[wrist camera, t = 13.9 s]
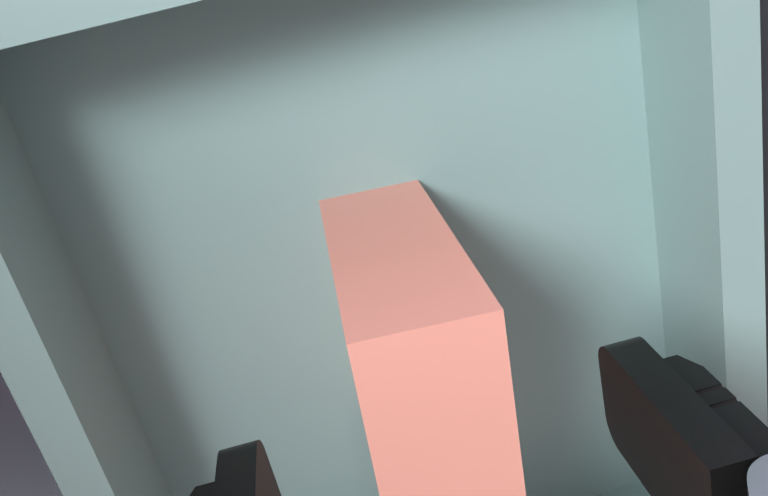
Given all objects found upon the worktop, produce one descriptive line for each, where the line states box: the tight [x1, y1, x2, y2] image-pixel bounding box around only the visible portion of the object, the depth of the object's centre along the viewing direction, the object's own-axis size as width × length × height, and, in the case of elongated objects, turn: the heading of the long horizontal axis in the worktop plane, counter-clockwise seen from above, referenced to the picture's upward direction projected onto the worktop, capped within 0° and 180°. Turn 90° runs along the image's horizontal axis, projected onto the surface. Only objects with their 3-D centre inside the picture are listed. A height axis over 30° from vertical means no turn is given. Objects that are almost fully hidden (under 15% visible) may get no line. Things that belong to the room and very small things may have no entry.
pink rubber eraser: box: [319, 180, 526, 496], centre depth 15 cm, size 6×2×7 cm, turn 10°
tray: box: [0, 0, 768, 496], centre depth 18 cm, size 18×16×4 cm
